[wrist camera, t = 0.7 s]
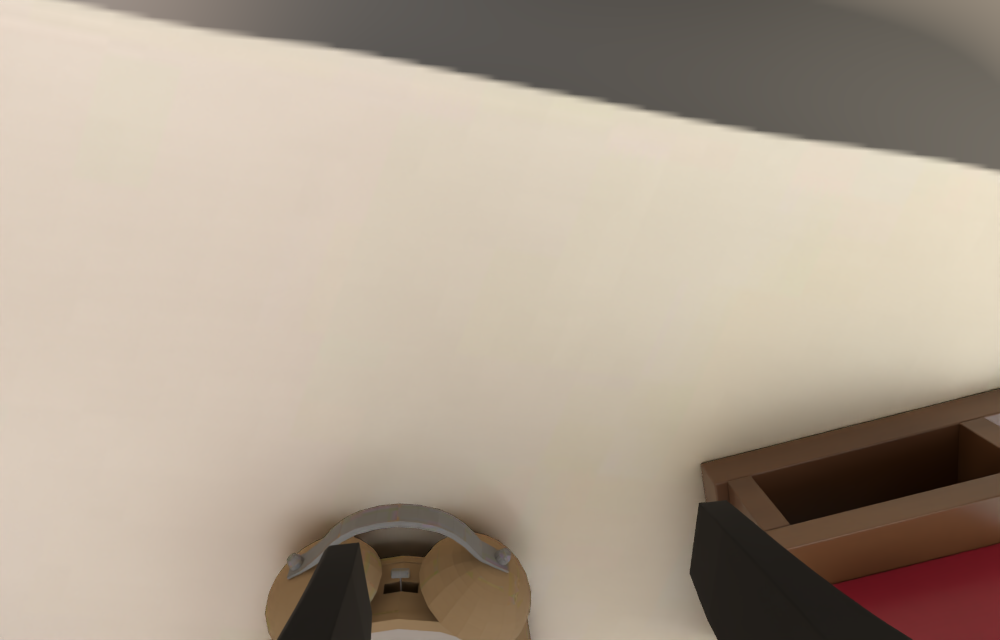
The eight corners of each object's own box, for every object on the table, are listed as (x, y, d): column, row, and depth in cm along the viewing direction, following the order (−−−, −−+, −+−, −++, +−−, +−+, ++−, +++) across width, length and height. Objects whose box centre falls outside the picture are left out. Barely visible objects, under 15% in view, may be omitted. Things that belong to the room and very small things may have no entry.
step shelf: (1153, 529, 28) (1311, 622, 23) (725, 634, 28) (785, 751, 23) (1186, 340, 25) (1380, 401, 20) (699, 463, 25) (763, 554, 20)
